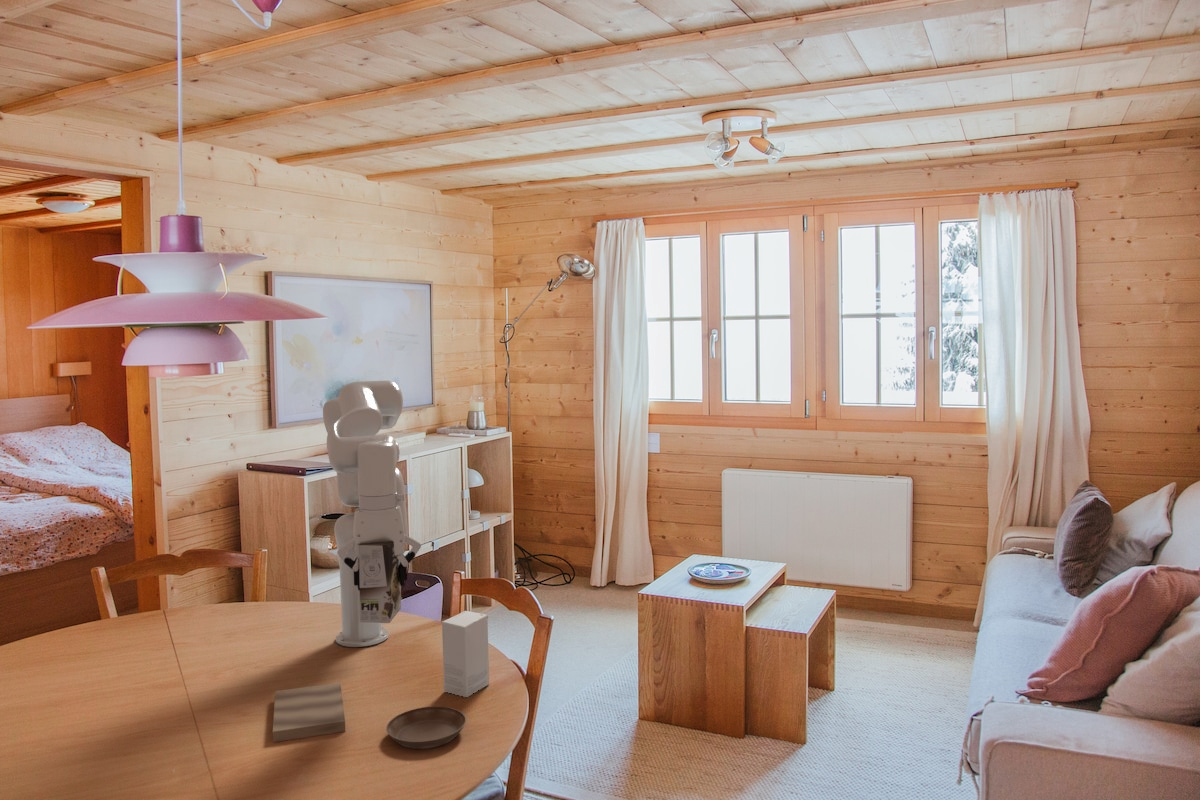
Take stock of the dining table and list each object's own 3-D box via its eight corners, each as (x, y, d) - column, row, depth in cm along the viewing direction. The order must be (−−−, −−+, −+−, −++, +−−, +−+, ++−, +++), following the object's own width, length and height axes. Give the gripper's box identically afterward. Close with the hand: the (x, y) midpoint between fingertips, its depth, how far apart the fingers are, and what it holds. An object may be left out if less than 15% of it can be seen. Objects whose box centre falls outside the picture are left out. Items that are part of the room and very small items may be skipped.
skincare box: (467, 679, 197) (465, 609, 196) (491, 685, 194) (490, 614, 193) (442, 693, 190) (440, 620, 189) (466, 699, 187) (464, 625, 186)
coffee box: (391, 623, 181) (389, 544, 179) (359, 623, 181) (357, 544, 180) (402, 608, 190) (401, 533, 189) (372, 607, 190) (370, 532, 189)
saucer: (389, 760, 162) (388, 745, 161) (384, 725, 176) (384, 712, 176) (472, 747, 166) (471, 733, 166) (460, 715, 180) (460, 701, 180)
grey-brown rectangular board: (275, 700, 188) (275, 691, 188) (340, 691, 192) (340, 682, 192) (273, 742, 169) (272, 731, 169) (345, 731, 173) (345, 721, 173)
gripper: (419, 495, 190) (421, 576, 192) (332, 501, 184) (335, 585, 186) (423, 502, 183) (426, 587, 184) (333, 509, 177) (337, 596, 179)
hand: (380, 585), depth 185 cm, fingers closed on coffee box, 7 cm apart
